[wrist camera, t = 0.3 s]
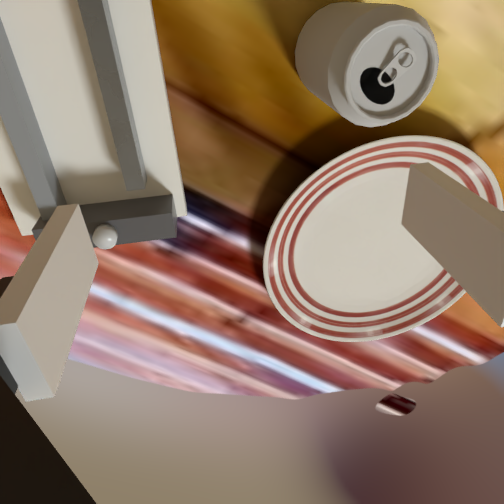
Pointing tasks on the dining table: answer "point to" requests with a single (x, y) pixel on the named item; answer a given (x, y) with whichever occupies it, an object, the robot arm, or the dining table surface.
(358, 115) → the can
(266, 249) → the dinner plate
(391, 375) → the dining table surface
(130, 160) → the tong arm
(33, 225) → the slider mechanism board
